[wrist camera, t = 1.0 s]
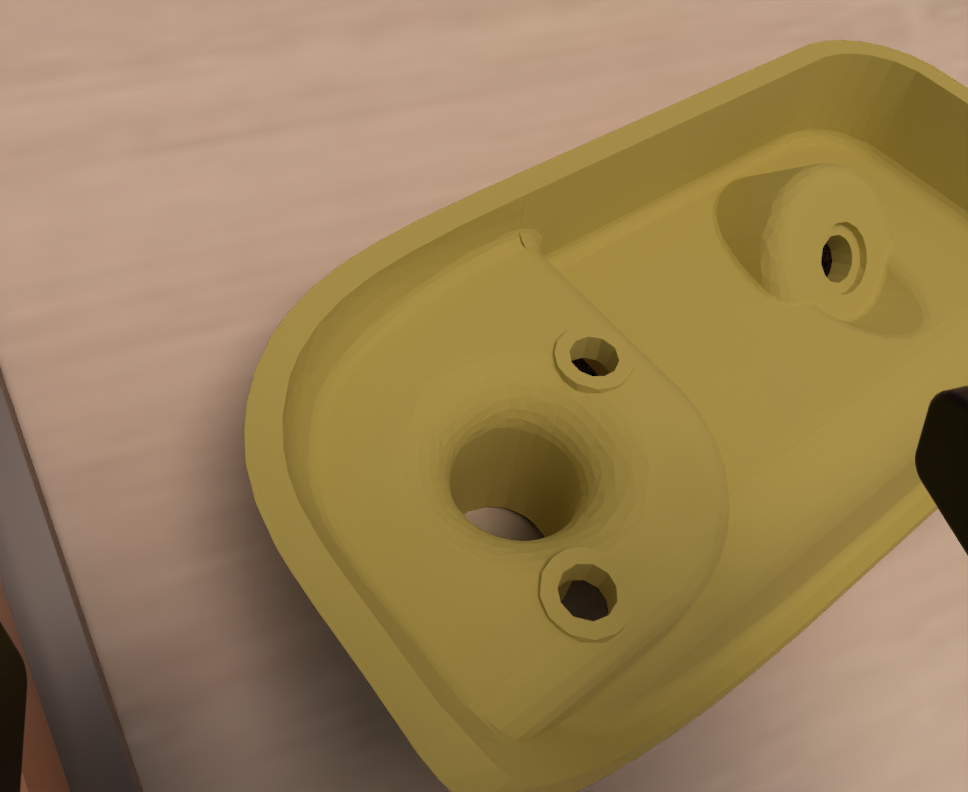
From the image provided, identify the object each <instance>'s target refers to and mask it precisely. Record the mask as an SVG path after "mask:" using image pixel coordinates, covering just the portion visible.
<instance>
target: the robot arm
mask: <svg viewBox="0 0 968 792" xmlns="http://www.w3.org/2000/svg"><path fill="white" fill-rule="evenodd" d="M915 466H916V470H917V473H918V476H919V478H920V480H921V482H922V483H923V485H924V487H925V488H926V490H927V491H928V493H929V495H930V496H931V498H932V499H933V501H934V502H935V504H936V506H937V507H938V509H939V510H940V512H941V514H942V515H943V517H944V518H945V520H946V522H947V523H948V525H949V526H950V528H951V529H952V531H953V533H954V534H955V536H956V537H957V539H958V541H959V542H960V544H961V545H962V547H963V549H964V550H965V552H966V553H967V555H968V385H967V386H963V387H958V388H953V389H949V390H944V391H941V392H939V393H937V394H936V395H935V396H934V397H933V399H932V400H931V402H930V404H929V407H928V410H927V414H926V417H925V421H924V424H923V428H922V431H921V435H920V438H919V442H918V445H917V449H916V453H915ZM27 684H28V680H27V671H26V666H25V663H24V660H23V658H22V656H21V654H20V652H19V651H18V649H17V647H16V646H15V644H14V643H13V641H12V639H11V638H10V636H9V634H8V633H7V631H6V630H5V628H4V626H3V625H2V623H1V622H0V792H20V790H21V776H22V761H23V746H24V731H25V716H26V701H27Z"/></svg>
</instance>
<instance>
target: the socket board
mask: <svg viewBox="0 0 968 792" xmlns="http://www.w3.org/2000/svg"><path fill="white" fill-rule="evenodd" d="M0 622H1V623H2V625H3V626H4V628H5V630H6V631H7V633H8V634H9V636H10V638H11V639H12V641H13V643H14V644H15V646H16V647H17V649H18V651H19V652H20V654H21V656H22V658H23V660H24V663H25V666H26V671H27V680H28V684H27V701H26V716H25V731H24V746H23V761H22V776H21V790H20V792H143V791H142V788H141V785H140V782H139V779H138V776H137V773H136V770H135V767H134V764H133V761H132V758H131V755H130V752H129V749H128V746H127V743H126V740H125V737H124V735H123V732H122V729H121V726H120V723H119V720H118V717H117V714H116V711H115V708H114V705H113V702H112V699H111V696H110V693H109V690H108V687H107V684H106V681H105V678H104V675H103V672H102V669H101V666H100V663H99V660H98V657H97V654H96V651H95V648H94V645H93V642H92V639H91V636H90V634H89V631H88V628H87V625H86V622H85V619H84V616H83V613H82V610H81V607H80V604H79V601H78V598H77V595H76V592H75V589H74V586H73V583H72V580H71V577H70V574H69V571H68V568H67V565H66V562H65V559H64V556H63V553H62V550H61V547H60V544H59V541H58V538H57V535H56V533H55V530H54V527H53V524H52V521H51V518H50V515H49V512H48V509H47V506H46V503H45V500H44V497H43V494H42V491H41V488H40V485H39V482H38V479H37V476H36V473H35V470H34V467H33V464H32V461H31V458H30V455H29V452H28V449H27V446H26V443H25V440H24V437H23V434H22V431H21V429H20V426H19V423H18V420H17V417H16V414H15V411H14V408H13V405H12V402H11V399H10V396H9V393H8V390H7V387H6V384H5V381H4V378H3V375H2V372H1V369H0Z"/></svg>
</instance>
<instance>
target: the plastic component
mask: <svg viewBox="0 0 968 792" xmlns="http://www.w3.org/2000/svg"><path fill="white" fill-rule="evenodd" d="M826 242H827V244H828V246H829V248H830V249H831V255H832V265H831V269H830V273H829V275H828V276H827V277H826V276H825V274H824V271H823V268H822V265H821V260H822V251H823V247H824V245H825V244H826ZM579 358H582V359H583V360H584V361H585V362H586V363H587V364H588V365H589V366H590V367H591V368H592V369H593V370H594V371H595V372H596V373H597V374H598V375H599V376H590V375H588V374H586V373H583V372H581V371H579V370H578V368H577V367H576V366H575V365H574V364H573V363H572V362H571V361H572V360H576V359H579ZM967 385H968V88H967V87H965V86H964V85H962V84H961V83H959V82H957V81H956V80H954V79H953V78H951V77H950V76H948V75H946V74H945V73H943V72H942V71H940V70H939V69H937V68H935V67H934V66H932V65H930V64H928V63H926V62H924V61H922V60H920V59H918V58H916V57H914V56H912V55H909V54H906V53H903V52H901V51H898V50H895V49H892V48H889V47H886V46H881V45H876V44H871V43H866V42H860V41H847V40H834V41H823V42H818V43H813V44H809V45H806V46H804V47H802V48H799V49H797V50H795V51H793V52H790V53H788V54H786V55H784V56H781V57H779V58H777V59H775V60H772V61H770V62H768V63H766V64H763V65H761V66H759V67H757V68H754V69H752V70H750V71H748V72H745V73H743V74H741V75H739V76H736V77H734V78H732V79H730V80H727V81H725V82H723V83H721V84H718V85H716V86H714V87H712V88H709V89H707V90H705V91H703V92H700V93H698V94H696V95H694V96H691V97H689V98H687V99H685V100H683V101H680V102H678V103H676V104H674V105H671V106H669V107H667V108H665V109H662V110H660V111H658V112H656V113H653V114H651V115H649V116H647V117H644V118H642V119H640V120H638V121H635V122H633V123H631V124H629V125H626V126H624V127H622V128H620V129H617V130H615V131H613V132H611V133H608V134H606V135H604V136H602V137H599V138H597V139H595V140H593V141H590V142H588V143H586V144H584V145H581V146H579V147H577V148H575V149H572V150H570V151H568V152H566V153H563V154H561V155H559V156H557V157H554V158H552V159H550V160H548V161H545V162H543V163H541V164H539V165H537V166H534V167H532V168H530V169H528V170H525V171H523V172H521V173H519V174H516V175H514V176H512V177H510V178H507V179H505V180H503V181H501V182H498V183H496V184H494V185H492V186H489V187H487V188H485V189H483V190H481V191H479V192H476V193H474V194H472V195H470V196H468V197H466V198H464V199H462V200H459V201H457V202H455V203H453V204H451V205H449V206H447V207H445V208H443V209H440V210H438V211H436V212H434V213H432V214H430V215H428V216H426V217H424V218H421V219H419V220H417V221H415V222H414V223H412V224H410V225H408V226H406V227H404V228H402V229H400V230H399V231H397V232H395V233H393V234H391V235H389V236H387V237H386V238H384V239H382V240H380V241H378V242H377V243H375V244H373V245H372V246H370V247H369V248H367V249H365V250H364V251H362V252H361V253H359V254H357V255H356V256H354V257H352V258H351V259H349V260H348V261H346V262H344V263H343V264H341V265H340V266H339V267H338V268H336V269H335V270H334V271H332V272H331V273H330V274H329V275H327V276H326V277H325V278H324V279H322V280H321V281H320V282H319V283H317V284H316V285H315V286H314V287H312V288H311V289H310V290H309V291H308V292H307V293H306V295H305V296H304V297H303V298H302V299H301V300H300V301H299V302H298V303H297V304H296V305H295V306H294V307H293V308H292V309H291V310H290V311H289V312H288V314H287V315H286V317H285V318H284V319H283V321H282V322H281V323H280V325H279V326H278V327H277V329H276V330H275V332H274V333H273V334H272V336H271V338H270V340H269V342H268V344H267V346H266V348H265V350H264V352H263V354H262V356H261V358H260V360H259V362H258V365H257V367H256V370H255V373H254V377H253V381H252V384H251V388H250V392H249V395H248V399H247V406H246V416H245V426H244V438H245V462H246V467H247V471H248V475H249V479H250V483H251V487H252V491H253V495H254V499H255V503H256V505H257V507H258V509H259V512H260V514H261V516H262V518H263V520H264V522H265V525H266V527H267V529H268V531H269V533H270V535H271V538H272V540H273V542H274V544H275V546H276V548H277V550H278V551H279V553H280V555H281V556H282V558H283V559H284V561H285V563H286V564H287V566H288V568H289V569H290V571H291V572H292V574H293V575H294V577H295V578H296V580H297V581H298V583H299V584H300V586H301V587H302V589H303V590H304V592H305V593H306V595H307V596H308V598H309V599H310V601H311V602H312V603H313V605H314V606H315V608H316V609H317V611H318V612H319V613H320V615H321V616H322V618H323V619H324V620H325V622H326V623H327V625H328V626H329V627H330V629H331V630H332V632H333V633H334V634H335V636H336V637H337V639H338V640H339V641H340V643H341V644H342V646H343V647H344V648H345V650H346V651H347V653H348V654H349V655H350V657H351V658H352V660H353V661H354V662H355V664H356V665H357V667H358V668H359V669H360V671H361V672H362V673H363V675H364V676H365V678H366V679H367V681H368V682H369V684H370V685H371V686H372V688H373V689H374V691H375V692H376V694H377V695H378V697H379V698H380V700H381V701H382V703H383V704H384V705H385V707H386V708H387V710H388V711H389V713H390V714H391V716H392V717H393V719H394V720H395V721H396V723H397V724H398V726H399V727H400V729H401V730H402V732H403V733H404V735H405V736H406V738H407V739H408V740H409V742H410V743H411V745H412V746H413V748H414V749H415V751H416V752H417V754H418V755H419V756H420V757H421V759H422V760H423V761H424V762H425V763H426V765H427V766H428V767H429V768H430V769H431V771H432V772H433V773H434V774H435V775H436V777H437V778H438V779H439V780H440V781H441V783H443V784H444V785H445V786H446V787H447V788H448V789H449V790H450V791H451V792H577V791H579V790H581V789H583V788H585V787H587V786H589V785H591V784H592V783H594V782H596V781H598V780H600V779H602V778H603V777H605V776H607V775H609V774H611V773H613V772H614V771H616V770H617V769H619V768H621V767H622V766H624V765H626V764H627V763H629V762H631V761H632V760H634V759H636V758H637V757H639V756H641V755H642V754H644V753H645V752H647V751H648V750H650V749H651V748H653V747H654V746H656V745H657V744H659V743H660V742H662V741H663V740H665V739H666V738H668V737H669V736H671V735H672V734H674V733H675V732H677V731H678V730H679V729H681V728H682V727H683V726H685V725H686V724H688V723H689V722H690V721H692V720H693V719H695V718H696V717H697V716H699V715H700V714H701V713H703V712H704V711H706V710H707V709H708V708H710V707H711V706H712V705H714V704H715V703H716V702H717V701H719V700H720V699H721V698H723V697H724V696H725V695H726V694H728V693H729V692H730V691H731V690H733V689H734V688H735V687H736V686H738V685H739V684H740V683H741V682H743V681H744V680H745V679H747V678H748V677H749V676H750V675H751V674H753V673H754V672H755V671H756V670H757V669H759V668H760V667H761V666H762V665H763V664H765V663H766V662H767V661H768V660H769V659H771V658H772V657H773V656H774V655H775V654H777V653H778V652H779V651H780V650H781V649H782V648H784V647H785V646H786V645H787V644H788V643H789V642H791V641H792V640H793V639H794V638H795V637H796V636H797V635H799V634H800V633H801V632H802V631H803V630H804V629H806V628H807V627H808V626H809V625H810V624H811V623H812V622H813V621H815V620H816V619H817V618H818V617H819V616H820V615H821V614H822V613H823V612H824V611H826V610H827V609H828V608H829V607H830V606H831V605H832V604H833V603H834V602H835V601H837V600H838V599H839V598H840V597H841V596H842V595H843V594H844V593H845V592H846V591H847V590H849V589H850V588H851V587H852V586H853V585H854V584H855V583H856V582H857V581H858V580H860V579H861V578H862V577H863V576H864V575H865V574H866V573H867V572H868V571H869V570H871V569H872V568H873V567H874V566H875V565H876V564H877V563H878V562H879V561H880V560H882V559H883V558H884V557H885V556H886V555H887V554H888V553H889V552H890V551H891V550H893V549H894V548H895V547H896V546H897V545H898V544H899V543H900V542H901V541H902V540H904V539H905V538H906V537H907V536H908V535H909V534H910V533H911V532H912V531H913V530H915V529H916V528H917V527H918V526H919V525H920V524H921V523H922V522H923V521H924V520H926V519H927V518H928V517H929V516H930V515H931V514H932V513H933V512H934V511H935V510H937V509H938V507H937V506H936V504H935V502H934V501H933V499H932V498H931V496H930V495H929V493H928V491H927V490H926V488H925V487H924V485H923V483H922V482H921V480H920V478H919V476H918V473H917V470H916V466H915V453H916V449H917V445H918V442H919V438H920V435H921V431H922V428H923V424H924V421H925V417H926V414H927V410H928V407H929V404H930V402H931V400H932V399H933V397H934V396H935V395H936V394H937V393H939V392H941V391H944V390H949V389H953V388H958V387H963V386H967ZM483 507H503V508H507V509H510V510H512V511H515V512H517V513H519V514H522V515H524V516H525V517H526V518H528V519H529V520H530V521H532V522H533V523H534V524H535V525H536V526H537V527H538V529H539V530H540V531H541V533H542V534H543V535H544V537H545V538H541V539H537V540H530V541H518V540H510V539H505V538H501V537H497V536H494V535H492V534H489V533H487V532H485V531H483V530H481V529H480V528H478V527H477V526H475V525H474V524H473V523H471V522H470V521H469V520H468V519H467V518H466V517H465V516H464V514H465V513H467V512H468V511H471V510H475V509H479V508H483ZM573 580H584V581H586V582H588V583H590V584H592V585H594V586H596V587H598V588H599V590H600V591H601V593H602V594H603V596H604V597H605V599H606V601H607V607H608V614H607V616H606V617H603V618H601V619H598V620H596V621H590V620H585V619H581V618H577V617H573V616H572V615H571V613H570V612H569V611H568V610H567V609H566V608H565V607H564V606H563V604H562V603H561V601H562V600H563V598H564V597H565V595H566V593H567V591H568V589H569V587H570V585H571V583H572V581H573Z"/></svg>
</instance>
